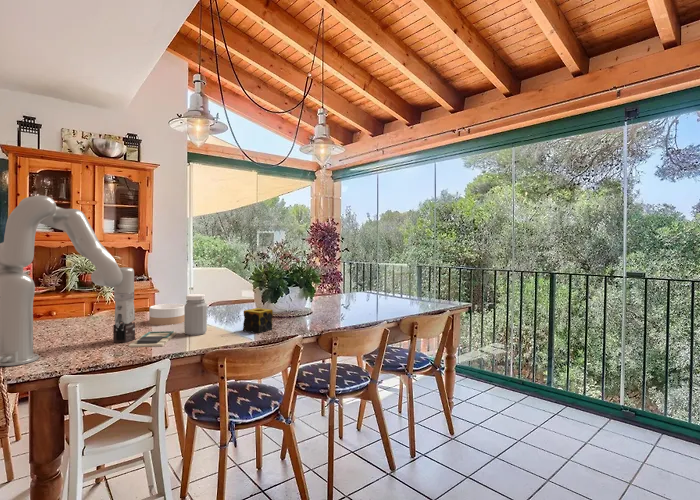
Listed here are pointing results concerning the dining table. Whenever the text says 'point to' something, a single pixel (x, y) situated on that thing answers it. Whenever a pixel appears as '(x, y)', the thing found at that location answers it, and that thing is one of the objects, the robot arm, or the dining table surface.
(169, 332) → the stamp board
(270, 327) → the candle
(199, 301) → the jar
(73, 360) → the dining table surface
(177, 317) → the bowl
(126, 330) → the box
